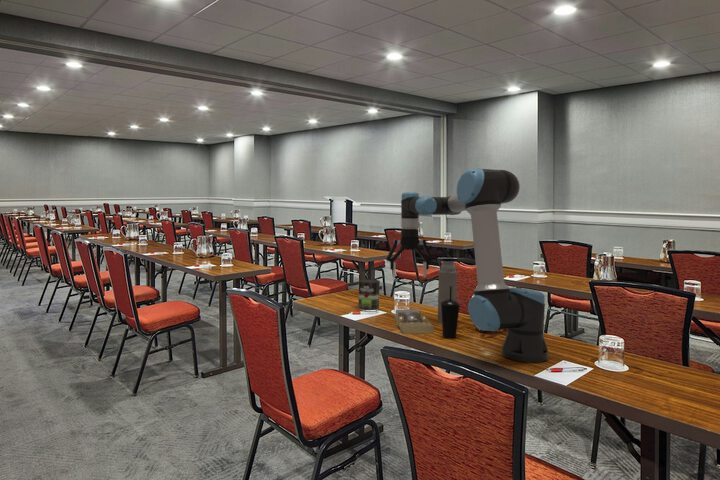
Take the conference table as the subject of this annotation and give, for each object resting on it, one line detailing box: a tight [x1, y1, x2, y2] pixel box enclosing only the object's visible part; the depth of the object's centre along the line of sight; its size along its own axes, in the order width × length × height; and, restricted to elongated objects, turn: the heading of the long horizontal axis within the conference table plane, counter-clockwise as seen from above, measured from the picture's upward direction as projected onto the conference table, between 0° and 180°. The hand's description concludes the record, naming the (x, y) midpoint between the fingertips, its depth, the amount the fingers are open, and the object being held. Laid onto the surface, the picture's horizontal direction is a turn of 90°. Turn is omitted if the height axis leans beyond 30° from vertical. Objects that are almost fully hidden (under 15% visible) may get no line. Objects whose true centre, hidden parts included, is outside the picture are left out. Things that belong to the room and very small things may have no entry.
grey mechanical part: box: [395, 308, 422, 323], centre depth 213 cm, size 12×10×5 cm
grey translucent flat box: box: [396, 315, 435, 335], centre depth 203 cm, size 13×12×4 cm
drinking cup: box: [440, 286, 461, 340], centre depth 191 cm, size 8×8×20 cm
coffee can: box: [357, 278, 381, 310], centre depth 239 cm, size 10×10×14 cm
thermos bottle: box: [437, 257, 458, 324], centre depth 216 cm, size 8×8×28 cm
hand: (409, 277), depth 214 cm, fingers open, 13 cm apart
